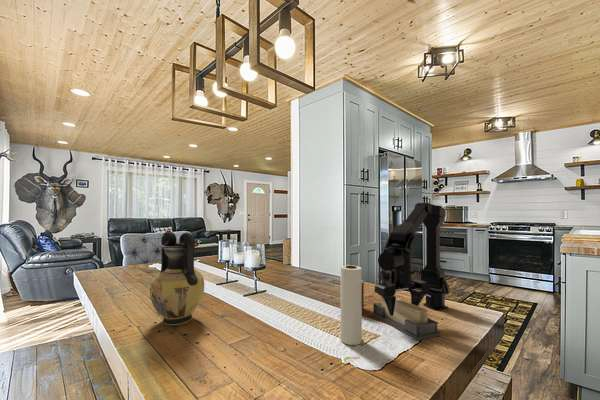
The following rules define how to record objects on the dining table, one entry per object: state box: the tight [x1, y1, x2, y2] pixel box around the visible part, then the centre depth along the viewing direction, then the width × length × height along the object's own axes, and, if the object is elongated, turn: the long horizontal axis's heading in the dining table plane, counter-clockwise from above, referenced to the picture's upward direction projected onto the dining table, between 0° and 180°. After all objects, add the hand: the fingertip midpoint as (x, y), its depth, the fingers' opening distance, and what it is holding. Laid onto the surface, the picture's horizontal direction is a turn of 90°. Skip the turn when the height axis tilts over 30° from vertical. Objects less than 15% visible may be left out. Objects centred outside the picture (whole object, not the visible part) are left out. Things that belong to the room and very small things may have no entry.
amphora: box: [149, 231, 205, 326], centre depth 96 cm, size 18×17×30 cm
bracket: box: [371, 301, 441, 342], centre depth 94 cm, size 9×22×4 cm, turn 21°
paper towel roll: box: [339, 263, 363, 346], centre depth 83 cm, size 7×6×21 cm
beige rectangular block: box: [380, 296, 428, 325], centre depth 94 cm, size 4×16×6 cm, turn 27°
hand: (402, 313), depth 94 cm, fingers open, 9 cm apart
